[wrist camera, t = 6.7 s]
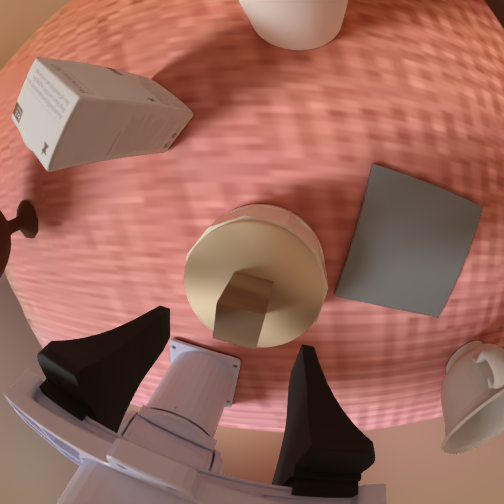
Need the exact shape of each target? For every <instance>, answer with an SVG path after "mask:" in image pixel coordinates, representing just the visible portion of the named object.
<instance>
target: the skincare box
mask: <svg viewBox="0 0 504 504" xmlns="http://www.w3.org/2000/svg"><path fill="white" fill-rule="evenodd" d="M193 116H194V114H193V112H192V111H191V110H190V109H189V108H188V107H187V106H186V105H185V104H184V103H183V102H182V101H180V100H179V99H178V98H177V97H176V96H174V95H173V94H172V93H171V92H169V91H168V90H167V89H165V88H164V87H162V86H161V85H160V84H158V83H157V82H155V81H153V80H152V79H150V78H147V77H143V76H140V75H136V74H132V73H128V72H124V71H120V70H116V69H112V68H107V67H102V66H97V65H92V64H87V63H81V62H74V61H66V60H56V59H48V58H39V57H38V58H36V59H35V61H34V63H33V65H32V67H31V69H30V71H29V73H28V75H27V77H26V80H25V82H24V85H23V87H22V90H21V92H20V95H19V97H18V100H17V103H16V106H15V109H14V112H13V115H12V120H13V121H14V123H15V124H16V126H17V128H18V129H19V131H20V133H21V136H22V139H23V141H24V143H25V144H26V146H27V147H28V148H29V149H30V150H32V151H33V152H34V154H35V155H36V156H37V158H38V159H39V161H40V162H41V163H42V165H43V166H44V168H45V169H46V170H47V171H48V172H51V171H56V170H60V169H64V168H69V167H74V166H79V165H83V164H89V163H94V162H99V161H105V160H111V159H118V158H124V157H131V156H139V155H147V154H156V153H164V152H166V151H167V150H168V148H169V147H170V146H171V144H172V143H173V142H174V140H175V139H176V138H177V136H178V135H179V134H180V133H181V131H182V130H183V129H184V127H185V126H186V125H187V124H188V122H189V121H190V120H191V118H192V117H193Z"/></svg>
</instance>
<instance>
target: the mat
mask: <svg viewBox="0 0 504 504" xmlns="http://www.w3.org/2000/svg"><path fill="white" fill-rule="evenodd" d="M482 208H483V207H482V206H480V205H478V204H476V203H474V202H472V201H469V200H467V199H465V198H463V197H461V196H458V195H456V194H454V193H452V192H449V191H447V190H445V189H442V188H440V187H437V186H435V185H432V184H430V183H427V182H425V181H422V180H419V179H417V178H414V177H411V176H409V175H406V174H403V173H400V172H397V171H394V170H391V169H388V168H385V167H382V166H379V165H376V164H372V166H371V171H370V175H369V179H368V183H367V187H366V191H365V195H364V199H363V203H362V207H361V210H360V214H359V217H358V221H357V225H356V228H355V231H354V235H353V238H352V241H351V245H350V248H349V251H348V254H347V257H346V260H345V264H344V267H343V270H342V273H341V275H340V278H339V281H338V284H337V287H336V290H335V293H334V294H335V296H337V297H342V298H346V299H351V300H356V301H360V302H365V303H370V304H374V305H379V306H384V307H389V308H393V309H398V310H403V311H408V312H413V313H418V314H423V315H428V316H433V317H439V315H440V313H441V311H442V309H443V307H444V305H445V303H446V301H447V299H448V297H449V295H450V293H451V291H452V289H453V287H454V285H455V282H456V280H457V278H458V276H459V273H460V271H461V269H462V266H463V264H464V261H465V259H466V256H467V253H468V251H469V248H470V245H471V243H472V240H473V237H474V234H475V231H476V228H477V225H478V222H479V218H480V215H481V212H482Z"/></svg>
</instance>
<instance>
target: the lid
mask: <svg viewBox="0 0 504 504" xmlns="http://www.w3.org/2000/svg"><path fill="white" fill-rule="evenodd" d="M184 285H185V292H186V295H187V298H188V301H189V303H190V305H191V307H192V309H193V311H194V312H195V314H196V315H197V316H198V318H199V319H200V320H201V321H202V322H203V323H204V324H205V325H206V326H207V327H208V328H209V329H210V330H211V331H213V338H214V339H218V340H221V341H225V342H228V343H232V344H235V345H239V346H243V347H247V348H251V349H255V350H256V347H273V346H278V345H282V344H285V343H287V342H290V341H292V340H294V339H296V338H297V337H299V336H300V335H302V334H303V333H304V332H305V331H306V330H308V329H309V327H310V326H311V325H312V324H313V323H314V321H315V319H316V318H317V316H318V314H319V312H320V309H321V306H322V302H323V278H322V273H321V270H320V267H319V264H318V262H317V260H316V258H315V256H314V254H313V253H312V252H311V250H310V249H309V247H308V246H307V245H306V244H305V243H304V242H303V241H302V240H301V239H300V238H298V237H297V236H296V235H295V234H293V233H292V232H290V231H288V230H287V229H285V228H283V227H280V226H278V225H276V224H272V223H269V222H265V221H259V220H240V221H234V222H230V223H227V224H224V225H222V226H219V227H217V228H216V229H214V230H212V231H211V232H210V233H208V234H207V235H206V236H205V237H204V238H203V239H201V240H200V241H199V243H198V244H197V245H196V246H195V247H194V249H193V250H192V252H191V253H190V255H189V258H188V260H187V263H186V266H185V272H184Z"/></svg>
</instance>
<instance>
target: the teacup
mask: <svg viewBox="0 0 504 504" xmlns="http://www.w3.org/2000/svg"><path fill="white" fill-rule="evenodd" d="M446 372H447V374H446V376H445V378H444V381H443V383H442V388H441V402H442V409H443V415H444V422H445V434H446V435H445V439H444V441H443V443H442V446H441V449H442V451H444V452H446V453H449V454H457V453H462V452H466V451H469V450H471V449H474V448H476V447H478V446H480V445H482V444H484V443H486V442H487V441H489V440H491V439H492V438H494V437H495V436H497V435H498V434H500V433H501V432H502V431H504V349H503V348H502V347H500V346H499V345H496V344H490V343H488V344H483V343H482V342H481V341H472V342H469V343H467V344H465V345H464V346H462V347H461V348H459V349H458V350H457V351H456V352H455V353H454V354H453V355H452V357H451V358H450V360H449V362H448V364H447V367H446Z"/></svg>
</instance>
